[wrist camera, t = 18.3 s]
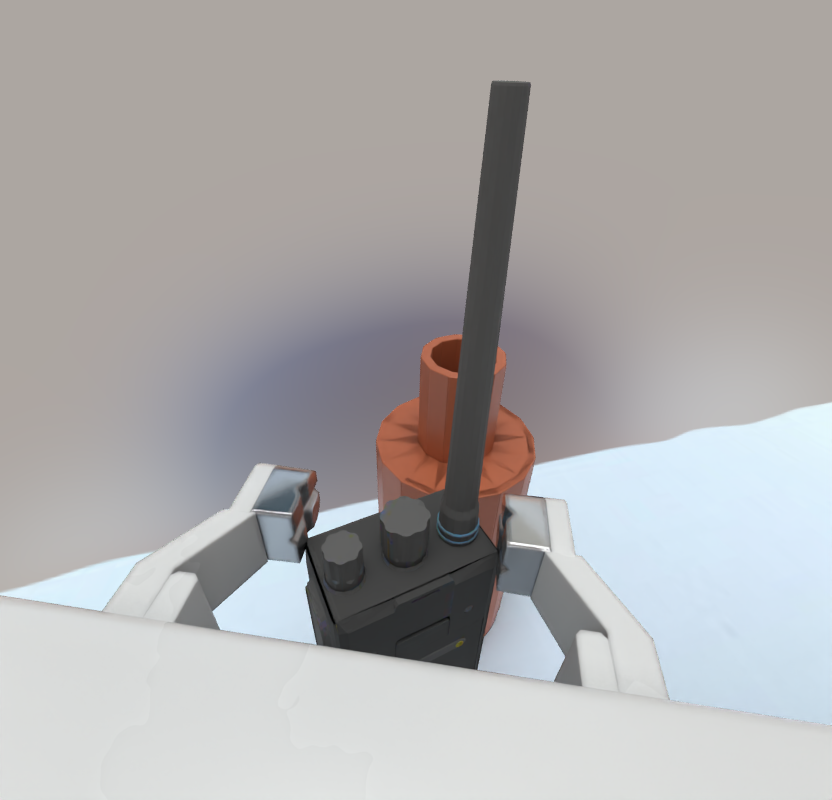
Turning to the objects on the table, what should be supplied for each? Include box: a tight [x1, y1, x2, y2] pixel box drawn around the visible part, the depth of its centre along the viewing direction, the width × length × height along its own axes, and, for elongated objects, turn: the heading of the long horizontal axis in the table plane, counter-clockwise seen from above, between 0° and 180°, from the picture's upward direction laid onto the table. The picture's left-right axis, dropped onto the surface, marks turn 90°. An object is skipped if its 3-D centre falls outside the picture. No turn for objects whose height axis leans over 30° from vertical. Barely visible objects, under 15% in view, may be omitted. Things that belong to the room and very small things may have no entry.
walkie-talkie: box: [305, 81, 531, 670], centre depth 12 cm, size 5×3×20 cm
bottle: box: [376, 334, 535, 636], centre depth 24 cm, size 7×7×18 cm
